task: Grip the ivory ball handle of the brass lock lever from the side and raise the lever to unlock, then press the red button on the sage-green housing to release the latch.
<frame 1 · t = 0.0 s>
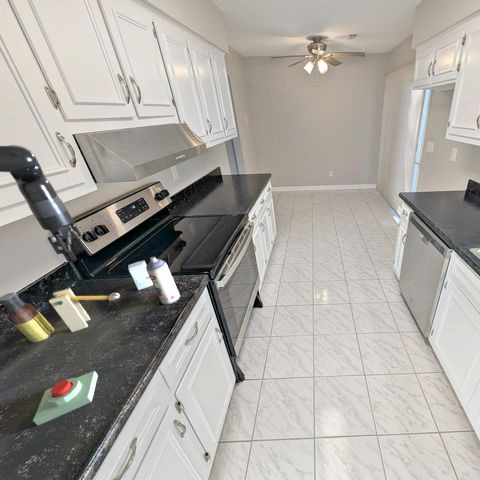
hand: (77, 255, 88), 26 cm above the worktop, tool pointing down, fingers open, 8 cm apart
lock bracket: (83, 327, 93), on the worktop
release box: (70, 398, 69), on the worktop
sauce bottle: (45, 339, 89), on the worktop
aerosol can: (171, 299, 104), on the worktop
cosmetic box: (147, 287, 113), on the worktop
lock lever: (90, 297, 90), point 11 cm above the worktop, hinge at -25.0°
release button: (61, 388, 67), point 4 cm above the worktop, slide at 0.1 cm
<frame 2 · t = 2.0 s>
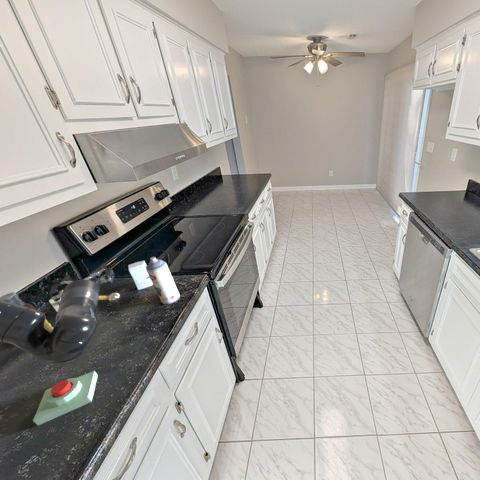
hand: (86, 272, 81), 24 cm above the worktop, tool horizontal, fingers open, 8 cm apart
nothing on the worktop moved.
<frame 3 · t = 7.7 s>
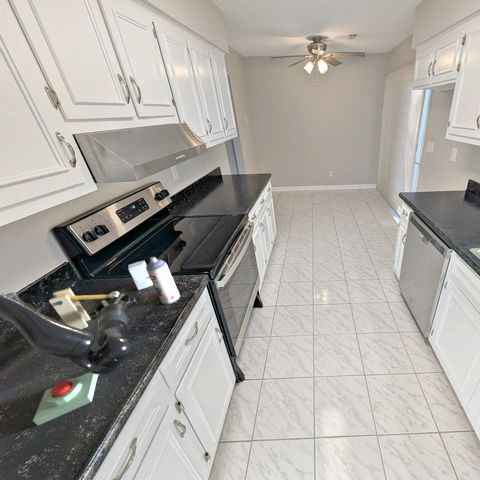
hand: (114, 294, 96), 8 cm above the worktop, tool horizontal, fingers closed on lock lever, 4 cm apart
lock lever: (90, 297, 90), point 11 cm above the worktop, hinge at -22.6°, touching gripper
everything else where it was.
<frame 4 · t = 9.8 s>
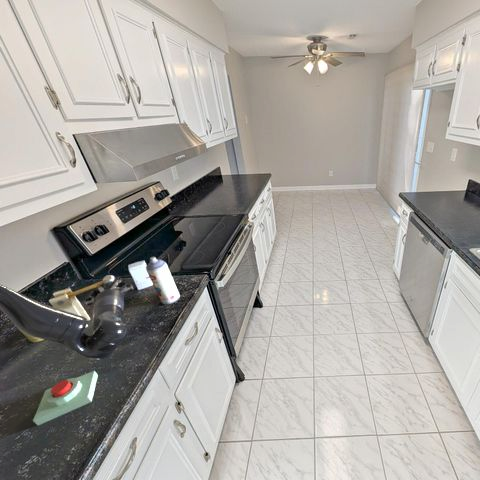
hand: (111, 281, 94), 14 cm above the worktop, tool horizontal, fingers open, 4 cm apart
lock lever: (87, 288, 89), point 15 cm above the worktop, hinge at 6.8°, touching gripper
everything else where it was.
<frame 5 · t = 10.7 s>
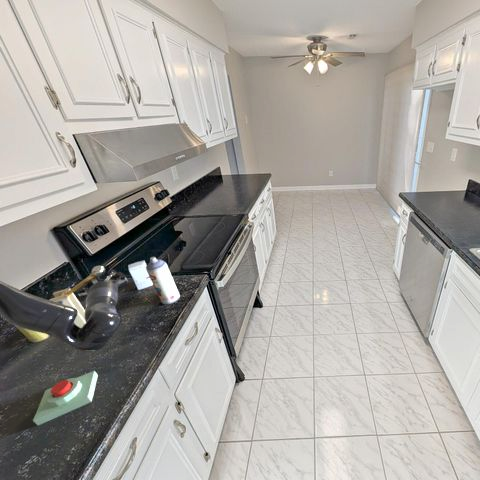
hand: (105, 273, 92), 17 cm above the worktop, tool horizontal, fingers open, 4 cm apart
lock lever: (81, 284, 87), point 17 cm above the worktop, hinge at 26.5°, touching gripper
everything else where it was.
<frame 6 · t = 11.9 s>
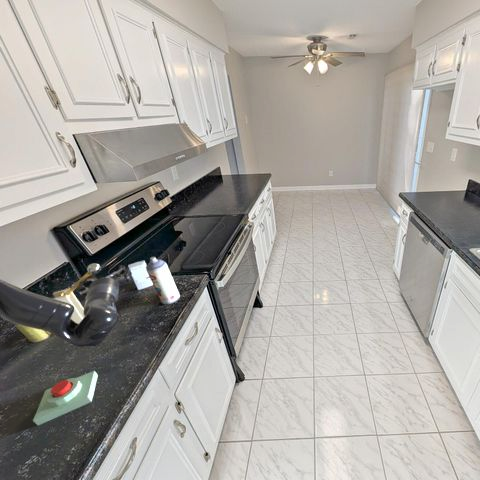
hand: (108, 271, 92), 18 cm above the worktop, tool horizontal, fingers open, 8 cm apart
lock lever: (78, 282, 87), point 18 cm above the worktop, hinge at 32.6°, touching gripper
everything else where it was.
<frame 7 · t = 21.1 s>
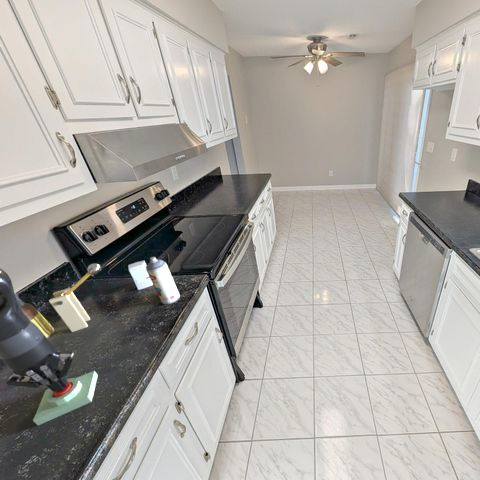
hand: (62, 388, 67), 4 cm above the worktop, tool pointing down, fingers closed
lock lever: (79, 282, 87), point 18 cm above the worktop, hinge at 32.2°
release button: (63, 390, 68), point 4 cm above the worktop, slide at -0.8 cm, touching gripper
everything else where it was.
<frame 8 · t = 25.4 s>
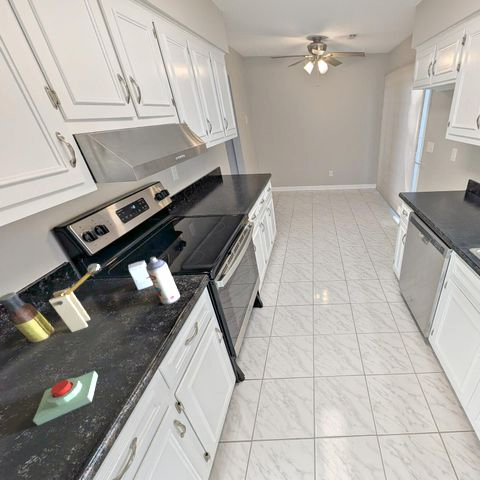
release button: (61, 388, 67), point 4 cm above the worktop, slide at 0.1 cm
everything else where it was.
at the end: lock lever at +32° (first picture: -25°); release button pushed in 1.1 cm at the most during the clip, back to where it started at the end; release button slide at 0.1 cm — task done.
